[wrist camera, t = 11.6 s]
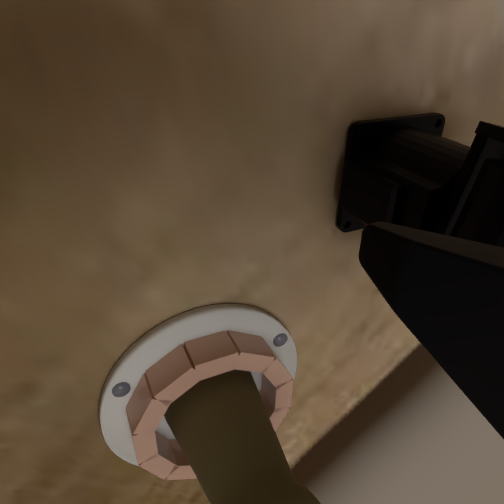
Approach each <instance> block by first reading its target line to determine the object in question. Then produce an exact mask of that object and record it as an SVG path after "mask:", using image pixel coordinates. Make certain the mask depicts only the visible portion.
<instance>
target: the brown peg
mask: <svg viewBox="0 0 504 504" xmlns="http://www.w3.org/2000/svg"><path fill="white" fill-rule="evenodd" d="M164 417H165V420H166V422H167V424H168V425H169V427H170V429H171V431H172V433H173V435H174V436H175V438H176V440H177V442H178V444H179V446H180V448H181V449H182V451H183V453H184V455H185V457H186V459H187V460H188V462H189V464H190V466H191V468H192V470H193V472H194V473H195V475H196V477H197V479H198V481H199V483H200V484H201V486H202V488H203V490H204V492H205V494H206V495H207V497H208V499H209V501H210V503H211V504H320V502H319V501H318V500H317V498H316V497H315V496H314V495H313V494H312V493H311V492H310V491H309V490H308V489H307V488H306V487H305V486H302V485H300V484H298V483H296V482H295V480H294V477H293V475H292V472H291V470H290V468H289V465H288V463H287V460H286V458H285V455H284V453H283V450H282V448H281V445H280V443H279V440H278V438H277V435H276V433H275V431H274V428H273V426H272V423H271V421H270V418H269V416H268V413H267V411H266V408H265V406H264V403H263V401H262V399H261V396H260V394H259V391H258V389H257V386H256V384H255V381H254V379H253V376H252V374H251V372H250V371H244V370H236V369H234V370H231V371H228V372H225V373H222V374H219V375H216V376H213V377H210V378H207V379H204V380H200V381H199V382H198V383H196V384H195V385H194V386H193V387H191V388H190V389H189V390H187V391H186V392H185V393H184V394H182V395H181V396H180V397H178V398H177V399H176V400H175V401H173V402H172V403H171V404H170V405H169V407H168V409H167V410H166V412H165V414H164Z"/></svg>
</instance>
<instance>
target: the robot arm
mask: <svg viewBox="0 0 504 504" xmlns="http://www.w3.org/2000/svg"><path fill="white" fill-rule="evenodd" d="M435 122H436V124H435ZM444 123H445V117H444V116H443V115H442V114H438V113H429V114H420V115H411V116H402V117H393V118H384V119H375V120H366V121H357V122H354V123H353V124H352V125H351V127H350V128H349V132H348V139H347V147H346V155H345V162H344V169H343V176H342V184H341V192H340V199H339V208H338V216H337V228H338V229H339V230H341V231H342V232H350V231H354V230H359V229H363V228H364V229H363V232H362V238H361V244H360V250H359V261H360V264H361V266H362V267H363V268H364V270H365V271H366V273H367V274H368V276H369V277H370V278H371V280H372V281H373V283H374V284H375V286H376V287H377V288H378V290H379V291H380V293H381V294H382V296H383V297H384V298H385V300H386V301H387V303H388V304H389V305H390V307H391V308H392V310H393V311H394V312H395V313H396V315H397V316H398V317H399V318H400V320H401V321H402V322H403V323H404V324H405V325H406V326H407V328H408V329H409V330H410V331H411V332H412V333H413V335H414V336H415V337H416V338H417V339H418V340H419V342H420V343H421V344H422V345H423V346H424V347H425V349H426V350H427V351H428V352H429V353H430V354H431V355H432V357H433V358H434V359H435V360H436V361H437V362H438V364H439V365H440V366H441V367H442V368H443V369H444V371H445V372H446V373H447V374H448V375H449V376H450V378H451V379H452V380H453V381H454V382H455V383H456V384H457V386H458V387H459V388H460V389H461V390H462V391H463V392H464V394H465V395H466V396H467V397H468V398H469V400H470V401H471V402H472V403H473V404H474V405H475V406H476V408H477V409H478V410H479V411H480V412H481V414H483V416H484V417H485V418H486V419H487V420H488V422H489V423H490V424H491V425H492V426H493V427H494V429H495V430H496V431H497V432H498V433H499V434H500V436H501V437H502V438H503V439H504V127H503V126H499V125H495V124H491V123H487V122H483V121H480V122H479V124H478V126H477V129H476V131H475V133H477V134H476V136H475V138H474V141H473V143H472V145H471V147H469V146H466V145H464V144H461V143H458V142H455V141H452V140H449V139H446V138H443V137H441V136H442V132H443V128H444ZM359 129H360V132H359V134H358V135H357V131H358V130H359ZM345 222H347V223H346V224H345ZM344 224H345V225H344Z"/></svg>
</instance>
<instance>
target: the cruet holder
mask: <svg viewBox="0 0 504 504" xmlns="http://www.w3.org/2000/svg"><path fill="white" fill-rule="evenodd" d="M296 368H297V353H296V347H295V345H294V342H293V339H292V338H291V336H290V334H289V333H288V331H287V330H286V329H285V328H284V326H283V325H282V324H281V323H280V322H279V321H278V320H277V319H276V318H275V317H274V316H272V315H271V314H270V313H268V312H266V311H264V310H262V309H260V308H257V307H253V306H250V305H244V304H231V303H225V304H214V305H209V306H204V307H199V308H196V309H193V310H190V311H186V312H184V313H181V314H179V315H177V316H174V317H172V318H170V319H168V320H166V321H165V322H163V323H161V324H159V325H157V326H156V327H154V328H153V329H151V330H150V331H148V332H147V333H146V334H144V335H143V336H142V337H141V338H139V339H138V340H137V341H136V342H135V343H133V344H132V345H131V346H130V347H129V348H128V349H127V350H126V352H125V353H124V354H123V355H122V356H121V357H120V358H119V360H118V361H117V362H116V364H115V365H114V366H113V368H112V370H111V371H110V373H109V375H108V377H107V378H106V381H105V383H104V386H103V388H102V391H101V396H100V400H99V417H100V424H101V429H102V433H103V436H104V439H105V441H106V443H107V444H108V446H109V447H110V449H111V450H112V451H113V452H114V453H115V454H116V455H117V456H119V457H120V458H122V459H123V460H125V461H127V462H129V463H131V464H134V465H137V466H140V467H142V468H143V469H145V470H147V471H149V472H151V473H153V474H154V475H156V476H158V477H160V478H162V479H163V480H164V479H166V480H177V479H196V478H197V477H196V475H195V473H194V472H193V470H192V468H191V466H190V464H189V462H188V460H187V459H186V457H185V455H184V453H183V451H182V449H181V448H180V446H179V444H178V442H177V440H176V438H175V436H174V435H173V433H172V431H171V429H170V427H169V425H168V424H167V422H166V420H165V417H164V414H165V412H166V410H167V409H168V407H169V405H170V404H171V403H172V402H173V401H175V400H176V399H177V398H178V397H180V396H181V395H182V394H184V393H185V392H186V391H187V390H189V389H190V388H191V387H193V386H194V385H195V384H196V383H198V382H199V381H200V380H204V379H207V378H210V377H213V376H216V375H219V374H222V373H225V372H228V371H231V370H234V369H236V370H244V371H250V372H251V374H252V376H253V379H254V381H255V384H256V386H257V389H258V391H259V394H260V396H261V399H262V401H263V403H264V406H265V408H266V411H267V413H268V416H269V418H270V421H271V423H272V426H273V428H274V431H276V429H277V428H278V426H279V425H280V423H281V422H282V420H283V419H284V417H285V416H286V414H287V412H288V411H289V409H290V407H291V400H292V389H293V380H294V377H295V374H296Z"/></svg>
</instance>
